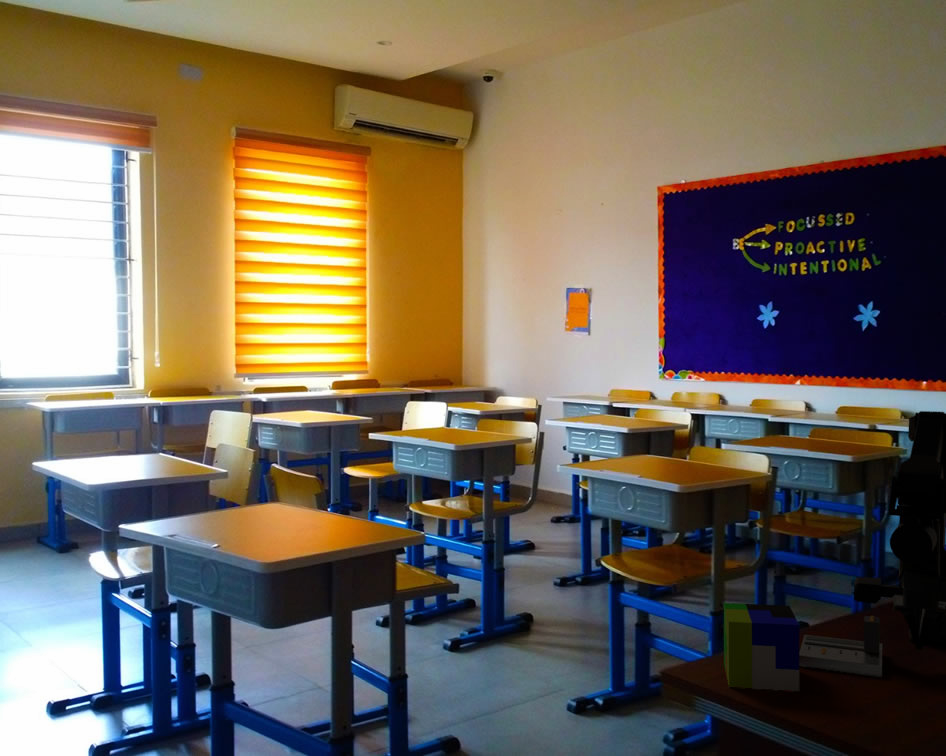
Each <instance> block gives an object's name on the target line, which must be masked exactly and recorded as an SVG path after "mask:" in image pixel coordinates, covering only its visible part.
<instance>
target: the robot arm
mask: <svg viewBox="0 0 946 756" xmlns="http://www.w3.org/2000/svg"><path fill="white" fill-rule="evenodd" d="M907 438H908V439H909V441H910V442H912V445H911V451H910V456H909V458H907V459H906V460H904V461H903V462H900V463H899V465H898V469H897V472H896V475H893V476H892V479H891V486H890V487H891V488H890V497H889V506H888V516H893V517H894V516H895V517H896V516H897V517H899V519H898V520H899V522H898V525H897V527H896V528H895V529H894V530H893V532H892V533H891V536H890V538H889V546H890V549H891V552H892V554H893V555H894V556H895V557H896V558H897V559H898V563H899V564H898V585H888V584H882V578H879V577H867V576H857V578H855V579H854V584H853V601H854V602H858V603H868V604H877V603H879V602H880V600H882V598H890V599H892V602H893V603H892V604H893V607H892V608H893V610H895V611H899V612H900V613H901V614H902V615H903V617H904V620H905V621H906V623H907V626H908V628H909V629H908V632H909V641H910V642H912V643H914V648H915V649H916V650H920V651H922V650H923V647H924V645H925V644H931V645H938V646H939V645H940V646H946V549H945V548H946V547H945V546H946V413H945V412H944V411H927V410H926V411H925V410H920V411H919V412H915V414H914V415H913V416H910V417H909V418H908V435H907Z"/></svg>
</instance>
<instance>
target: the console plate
mask: <svg viewBox="0 0 946 756" xmlns="http://www.w3.org/2000/svg"><path fill="white" fill-rule="evenodd" d="M799 666H802V667H801V668H806V667H811V668H810V669H814V668H821V669H826V670H825V671H829V670H833V671H832V672H837V671H840V672H839V673H844V672H846V674H852V673H855V674H854V675H860V674H861V675H863V676H870V677H875V678H876V677H878V678H883V643H880V642H879V653H873V652H864V640H863V641H862V640H855V639H846V638H845V639H844V638H836V637H828V636H818V635H811V634H810V635H809V634H804V635H803V638H802V642H801V645H800V648H799ZM821 669H820V670H821Z"/></svg>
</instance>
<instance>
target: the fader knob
mask: <svg viewBox="0 0 946 756" xmlns="http://www.w3.org/2000/svg"><path fill="white" fill-rule="evenodd" d="M863 621H864V622H863V624H864V625H863V642H864V652H873V653H879V643H880V629H881V628H880V626H881V625H880V617H879V616H877V617H876V616H874V615H870V616H869V615H868V616H867V615H865V616H864V617H863Z"/></svg>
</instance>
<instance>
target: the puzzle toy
mask: <svg viewBox="0 0 946 756" xmlns="http://www.w3.org/2000/svg"><path fill="white" fill-rule="evenodd" d="M799 652H800V624H799V621H798V619H797V618H796V616H795V614H794V612H793V610H792V608H791V605H789V604H788V605H787V604H786V605H784V604H781V605H780V604H763V603H762V604H761V603H759V604H758V603H740V602H739V603H734V602H723V666H724V671H725V675H726V680H728V681H727V684H728V685H729V686H728V688H729V687H743V688H742V689H745V688H752V689H751V690H761V689H766V691H768V690H767V689H773V690H772V691H778V690H791V691H790V692H794V691H799V692H800V667H799Z"/></svg>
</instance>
